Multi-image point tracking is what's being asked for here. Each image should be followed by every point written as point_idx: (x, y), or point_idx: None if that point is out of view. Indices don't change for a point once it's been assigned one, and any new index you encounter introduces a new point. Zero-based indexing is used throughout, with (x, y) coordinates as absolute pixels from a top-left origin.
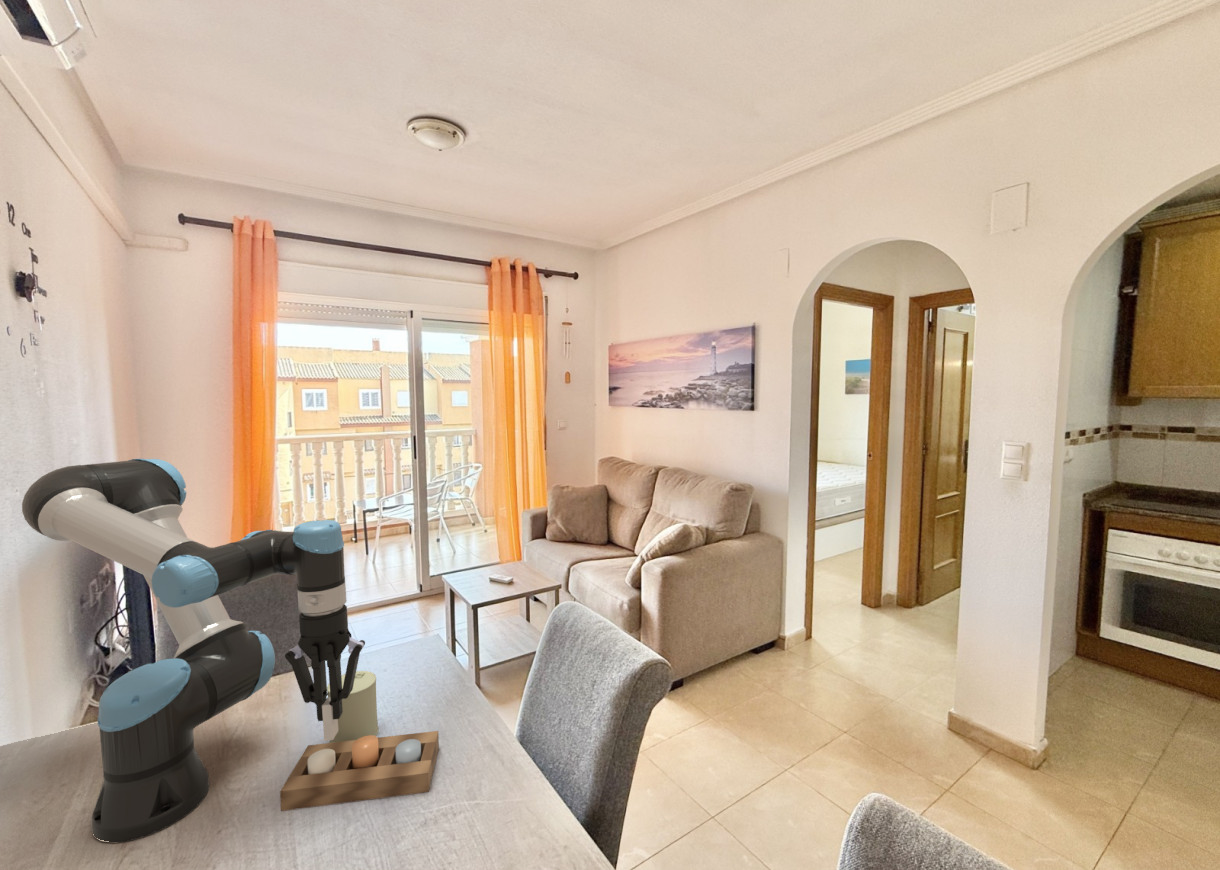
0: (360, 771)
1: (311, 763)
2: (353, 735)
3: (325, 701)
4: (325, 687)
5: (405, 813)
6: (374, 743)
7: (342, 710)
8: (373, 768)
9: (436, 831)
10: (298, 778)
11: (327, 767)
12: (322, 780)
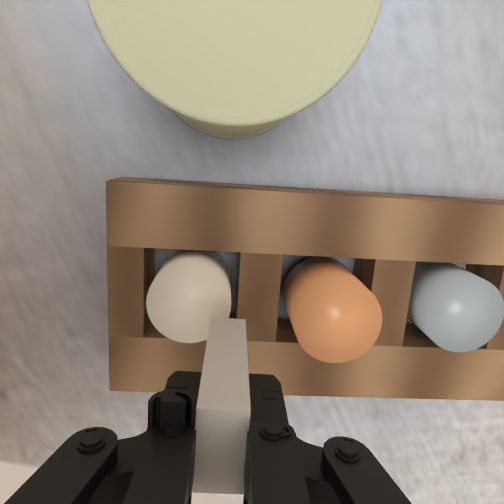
0: None
1: (166, 331)
2: (250, 132)
3: (198, 452)
4: (186, 498)
5: (420, 424)
6: (372, 333)
7: (281, 388)
8: None
9: (482, 481)
10: (142, 349)
11: None
12: None
